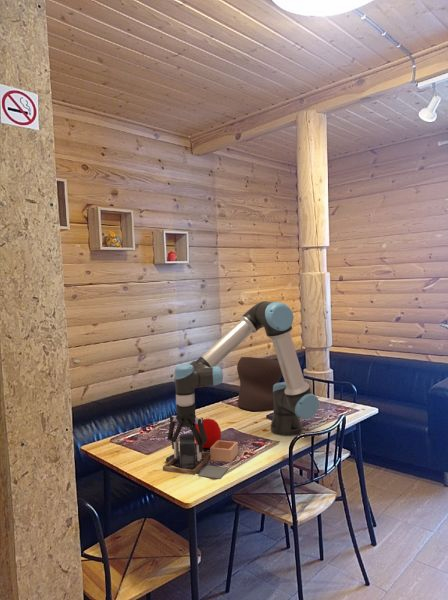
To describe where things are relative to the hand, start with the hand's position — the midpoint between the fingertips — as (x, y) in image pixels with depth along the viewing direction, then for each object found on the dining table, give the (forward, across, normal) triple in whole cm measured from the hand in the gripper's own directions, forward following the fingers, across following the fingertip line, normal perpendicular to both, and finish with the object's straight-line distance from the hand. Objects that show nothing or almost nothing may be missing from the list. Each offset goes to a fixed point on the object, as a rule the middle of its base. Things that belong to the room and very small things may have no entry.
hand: (188, 458), depth 179 cm
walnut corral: (+2, 0, 0) cm, 2 cm away
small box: (+2, 0, 0) cm, 2 cm away
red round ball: (+2, 0, -20) cm, 20 cm away
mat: (+2, -13, +5) cm, 14 cm away
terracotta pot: (+2, -12, -10) cm, 16 cm away
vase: (+2, -7, -84) cm, 84 cm away
